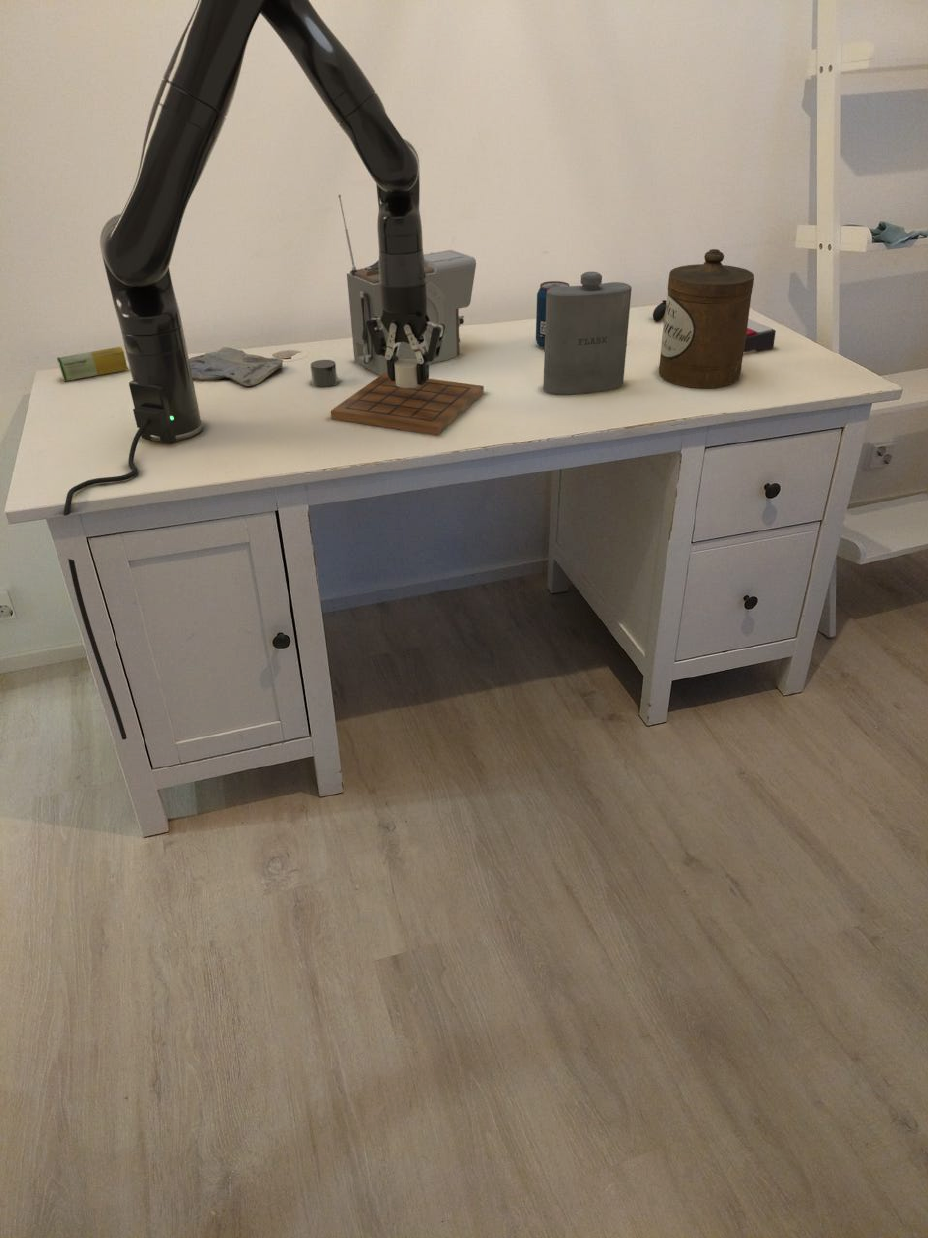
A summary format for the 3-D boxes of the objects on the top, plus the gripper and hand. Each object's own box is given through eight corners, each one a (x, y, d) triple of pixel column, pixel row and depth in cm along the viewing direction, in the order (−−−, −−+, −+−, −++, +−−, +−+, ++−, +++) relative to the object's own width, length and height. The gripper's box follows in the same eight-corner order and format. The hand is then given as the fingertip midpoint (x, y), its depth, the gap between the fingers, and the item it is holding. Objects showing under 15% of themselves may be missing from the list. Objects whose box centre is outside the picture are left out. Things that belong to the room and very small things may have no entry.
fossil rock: (290, 368, 173) (288, 356, 171) (239, 394, 162) (236, 381, 161) (221, 355, 180) (219, 343, 178) (168, 378, 169) (165, 366, 168)
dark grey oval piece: (653, 318, 192) (654, 293, 193) (650, 330, 197) (651, 306, 198) (698, 319, 191) (699, 293, 192) (695, 332, 196) (696, 306, 197)
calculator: (680, 326, 178) (741, 312, 182) (678, 347, 180) (738, 333, 185) (715, 341, 170) (777, 326, 174) (712, 363, 172) (774, 348, 177)
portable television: (478, 352, 178) (477, 188, 161) (375, 377, 168) (362, 204, 150) (445, 337, 187) (441, 180, 169) (345, 360, 176) (330, 195, 159)
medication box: (64, 382, 168) (58, 362, 166) (61, 376, 170) (55, 357, 168) (128, 369, 173) (123, 350, 170) (125, 364, 175) (120, 345, 172)
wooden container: (653, 361, 172) (665, 241, 159) (730, 361, 171) (748, 240, 159) (664, 389, 160) (679, 261, 147) (747, 388, 159) (769, 259, 147)
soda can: (546, 338, 185) (548, 278, 178) (575, 343, 182) (579, 283, 175) (529, 347, 181) (530, 286, 174) (558, 353, 177) (561, 291, 170)
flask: (549, 397, 157) (553, 280, 146) (539, 386, 162) (543, 272, 151) (628, 389, 160) (639, 274, 149) (617, 378, 165) (626, 265, 153)
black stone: (329, 388, 163) (327, 369, 161) (308, 385, 165) (305, 366, 163) (342, 380, 167) (340, 361, 165) (320, 377, 168) (318, 358, 166)
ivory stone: (415, 389, 151) (414, 368, 149) (390, 386, 152) (389, 365, 150) (426, 380, 154) (425, 360, 152) (402, 377, 156) (401, 357, 154)
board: (437, 435, 145) (437, 426, 144) (331, 418, 151) (330, 410, 150) (483, 393, 160) (483, 385, 159) (385, 380, 166) (384, 372, 165)
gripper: (352, 280, 143) (361, 383, 153) (433, 288, 138) (437, 394, 148) (374, 269, 148) (381, 369, 158) (452, 276, 144) (455, 379, 153)
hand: (408, 380), depth 153 cm, fingers closed on ivory stone, 4 cm apart
